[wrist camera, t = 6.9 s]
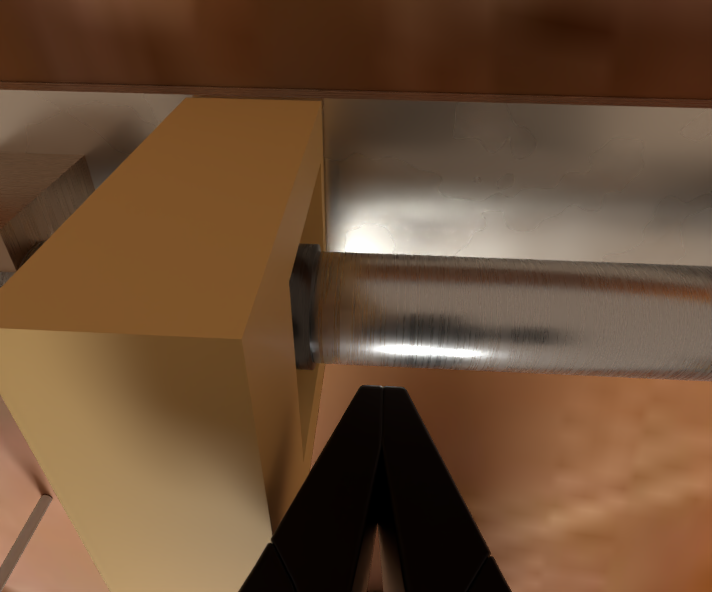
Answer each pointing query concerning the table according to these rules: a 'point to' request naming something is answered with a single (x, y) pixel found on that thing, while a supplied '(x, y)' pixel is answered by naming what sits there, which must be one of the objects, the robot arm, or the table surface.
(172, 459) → the tan wooden block
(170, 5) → the table surface
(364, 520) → the robot arm
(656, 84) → the table surface
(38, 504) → the lollipop
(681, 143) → the grey piece
